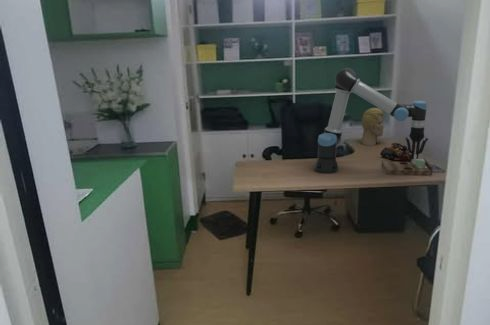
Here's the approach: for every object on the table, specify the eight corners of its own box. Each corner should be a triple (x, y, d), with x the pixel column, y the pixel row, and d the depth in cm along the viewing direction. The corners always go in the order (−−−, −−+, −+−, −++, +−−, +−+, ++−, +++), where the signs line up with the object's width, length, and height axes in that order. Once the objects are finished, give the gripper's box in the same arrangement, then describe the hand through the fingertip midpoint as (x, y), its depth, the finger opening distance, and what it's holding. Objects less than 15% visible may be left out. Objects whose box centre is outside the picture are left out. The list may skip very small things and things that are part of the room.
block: (415, 167, 225) (416, 161, 224) (414, 164, 229) (414, 158, 228) (424, 167, 224) (425, 161, 222) (422, 165, 228) (423, 159, 227)
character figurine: (393, 136, 260) (417, 147, 234) (398, 149, 264) (422, 160, 238) (373, 148, 260) (395, 160, 234) (378, 161, 264) (400, 173, 238)
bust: (384, 146, 290) (387, 109, 282) (361, 146, 294) (363, 109, 286) (381, 141, 307) (384, 106, 299) (360, 141, 311) (361, 106, 303)
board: (386, 174, 223) (386, 165, 221) (381, 165, 240) (382, 157, 239) (431, 175, 217) (432, 166, 216) (423, 166, 235) (424, 158, 234)
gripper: (407, 127, 218) (404, 165, 224) (430, 128, 215) (426, 165, 222) (405, 125, 225) (401, 161, 232) (427, 125, 222) (423, 162, 229)
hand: (414, 163), depth 227 cm, fingers closed
